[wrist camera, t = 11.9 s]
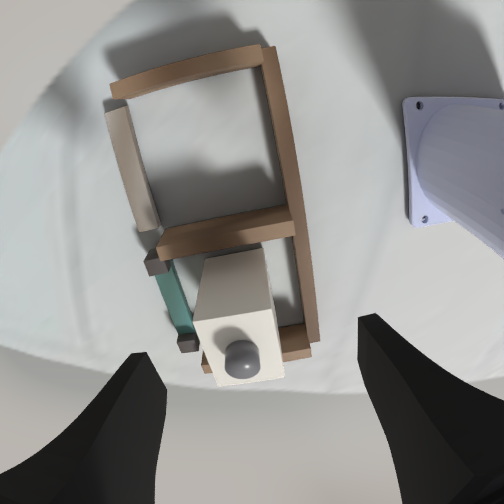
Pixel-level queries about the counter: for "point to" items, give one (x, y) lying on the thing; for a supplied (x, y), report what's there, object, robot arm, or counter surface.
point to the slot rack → (224, 228)
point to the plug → (238, 319)
